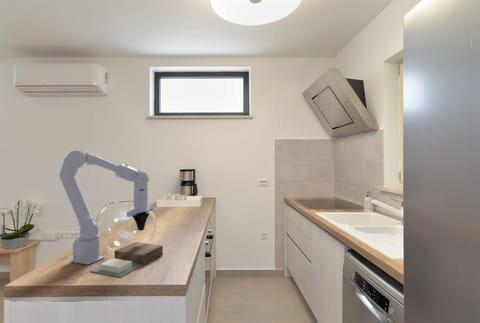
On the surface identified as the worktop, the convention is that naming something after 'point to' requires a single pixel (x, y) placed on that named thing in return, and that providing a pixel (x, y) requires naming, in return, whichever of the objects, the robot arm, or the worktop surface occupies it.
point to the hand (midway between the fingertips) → (140, 230)
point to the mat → (97, 270)
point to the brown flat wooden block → (139, 253)
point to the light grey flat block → (116, 265)
